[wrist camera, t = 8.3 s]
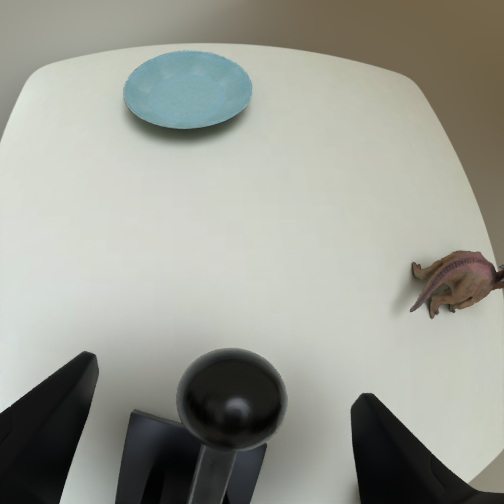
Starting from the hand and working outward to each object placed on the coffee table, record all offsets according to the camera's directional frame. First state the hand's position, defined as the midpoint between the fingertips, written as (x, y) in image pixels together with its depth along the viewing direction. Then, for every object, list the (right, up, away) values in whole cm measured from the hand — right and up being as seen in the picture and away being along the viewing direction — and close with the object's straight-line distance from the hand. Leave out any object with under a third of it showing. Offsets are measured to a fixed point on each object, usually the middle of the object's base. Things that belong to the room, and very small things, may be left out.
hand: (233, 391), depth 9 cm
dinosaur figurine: (+19, +1, +16) cm, 24 cm away
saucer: (-6, +19, +17) cm, 26 cm away
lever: (-1, -5, +1) cm, 6 cm away
